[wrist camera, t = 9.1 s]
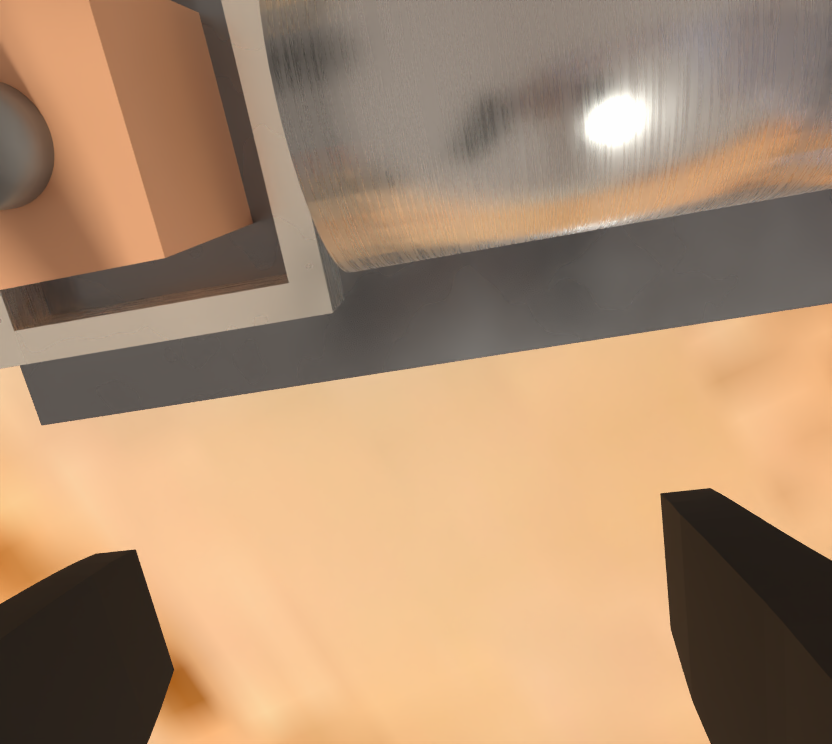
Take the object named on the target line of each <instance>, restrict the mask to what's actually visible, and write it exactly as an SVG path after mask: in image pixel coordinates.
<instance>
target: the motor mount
mask: <svg viewBox="0 0 832 744" xmlns="http://www.w3.org/2000/svg"><path fill="white" fill-rule="evenodd" d="M171 1H173V2H176V3H178V4H180V5H182V6H185V7H187V8H189V9H192V10H194V11H196V12H198V13H199V15H200V19H201V23H202V27H203V31H204V35H205V39H206V43H207V46H208V50H209V54H210V58H211V62H212V66H213V70H214V74H215V77H216V81H217V85H218V89H219V93H220V97H221V101H222V105H223V109H224V112H225V116H226V120H227V124H228V128H229V132H230V136H231V140H232V143H233V147H234V151H235V155H236V159H237V163H238V167H239V171H240V174H241V178H242V182H243V186H244V190H245V194H246V198H247V202H248V206H249V209H250V213H251V217H252V221H253V224H250V225H248V226H245V227H243V228H240V229H238V230H235V231H233V232H230V233H227V234H225V235H222V236H220V237H217V238H215V239H212V240H210V241H207V242H205V243H202V244H200V245H197V246H194V247H192V248H189V249H187V250H184V251H182V252H179V253H177V254H174V255H172V256H169V257H167V258H163V259H158V260H153V261H147V262H142V263H137V264H132V265H127V266H121V267H116V268H111V269H106V270H101V271H96V272H90V273H85V274H80V275H75V276H70V277H65V278H59V279H54V280H49V281H44V282H39V283H34V284H28V285H23V286H18V287H13V288H8V289H3V290H0V369H1V368H7V367H13V366H19V365H20V367H21V370H22V373H23V376H24V378H25V381H26V384H27V387H28V389H29V392H30V395H31V398H32V400H33V403H34V406H35V409H36V411H37V414H38V417H39V420H40V423H41V425H47V424H54V423H60V422H67V421H73V420H80V419H86V418H93V417H99V416H106V415H112V414H119V413H125V412H131V411H138V410H144V409H151V408H157V407H164V406H170V405H177V404H183V403H190V402H196V401H203V400H209V399H216V398H222V397H228V396H235V395H241V394H248V393H254V392H261V391H267V390H274V389H280V388H287V387H293V386H300V385H306V384H313V383H319V382H325V381H332V380H338V379H345V378H351V377H358V376H364V375H371V374H377V373H384V372H390V371H397V370H403V369H410V368H416V367H422V366H429V365H435V364H442V363H448V362H455V361H461V360H468V359H474V358H481V357H487V356H494V355H500V354H506V353H513V352H519V351H526V350H532V349H539V348H545V347H552V346H558V345H565V344H571V343H578V342H584V341H591V340H597V339H603V338H610V337H616V336H623V335H629V334H636V333H642V332H649V331H655V330H662V329H668V328H675V327H681V326H688V325H694V324H700V323H707V322H713V321H720V320H726V319H733V318H739V317H746V316H752V315H759V314H765V313H772V312H778V311H785V310H791V309H797V308H804V307H810V306H817V305H823V304H830V303H832V0H171Z"/></svg>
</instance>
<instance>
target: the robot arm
mask: <svg viewBox="0 0 832 744" xmlns="http://www.w3.org/2000/svg"><path fill="white" fill-rule="evenodd" d="M661 507H662V520H663V533H664V546H665V559H666V572H667V586H668V599H669V612H670V625H671V631H672V635H673V638H674V641H675V645H676V648H677V652H678V655H679V658H680V662H681V665H682V669H683V672H684V675H685V678H686V682H687V685H688V688H689V691H690V694H691V698H692V701H693V703H694V706H695V708H696V710H697V713H698V715H699V718H700V720H701V722H702V724H703V727H704V729H705V731H706V734H707V736H708V738H709V741H710V743H711V744H832V561H831V560H830V559H828V558H826V557H824V556H823V555H821V554H819V553H817V552H816V551H814V550H812V549H811V548H809V547H807V546H806V545H804V544H802V543H800V542H799V541H797V540H795V539H794V538H792V537H790V536H789V535H787V534H785V533H784V532H782V531H780V530H779V529H777V528H776V527H774V526H772V525H771V524H769V523H767V522H766V521H764V520H763V519H761V518H759V517H758V516H756V515H754V514H753V513H751V512H750V511H748V510H746V509H745V508H743V507H742V506H740V505H738V504H737V503H735V502H733V501H732V500H730V499H728V498H727V497H725V496H723V495H722V494H720V493H718V492H716V491H714V490H713V489H711V488H707V489H698V490H689V491H679V492H670V493H661ZM173 671H174V668H173V665H172V662H171V659H170V655H169V652H168V649H167V646H166V643H165V640H164V637H163V634H162V630H161V627H160V624H159V621H158V618H157V615H156V612H155V609H154V605H153V602H152V599H151V596H150V593H149V590H148V587H147V584H146V580H145V577H144V574H143V571H142V568H141V565H140V562H139V559H138V555H137V552H136V550H127V551H117V552H108V553H99V554H94V555H92V556H90V557H87V558H85V559H82V560H80V561H78V562H76V563H74V564H72V565H70V566H68V567H66V568H64V569H62V570H60V571H58V572H56V573H54V574H52V575H51V576H49V577H47V578H45V579H43V580H41V581H40V582H38V583H36V584H34V585H33V586H31V587H29V588H27V589H26V590H24V591H22V592H20V593H19V594H17V595H15V596H13V597H12V598H10V599H8V600H6V601H5V602H3V603H1V604H0V744H147V742H148V740H149V738H150V736H151V733H152V730H153V728H154V725H155V723H156V720H157V717H158V715H159V712H160V710H161V707H162V704H163V701H164V698H165V695H166V692H167V689H168V686H169V683H170V680H171V677H172V674H173Z"/></svg>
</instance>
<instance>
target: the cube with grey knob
mask: <svg viewBox="0 0 832 744" xmlns="http://www.w3.org/2000/svg"><path fill="white" fill-rule="evenodd" d="M250 224H253V221H252V217H251V213H250V209H249V206H248V202H247V198H246V194H245V190H244V186H243V182H242V178H241V174H240V171H239V167H238V163H237V159H236V155H235V151H234V147H233V143H232V140H231V136H230V132H229V128H228V124H227V120H226V116H225V112H224V109H223V105H222V101H221V97H220V93H219V89H218V85H217V81H216V77H215V74H214V70H213V66H212V62H211V58H210V54H209V50H208V46H207V43H206V39H205V35H204V31H203V27H202V23H201V19H200V15H199V13H198V12H196V11H194V10H192V9H189V8H187V7H185V6H182V5H180V4H178V3H176V2H173V1H171V0H0V290H3V289H8V288H13V287H18V286H23V285H28V284H34V283H39V282H44V281H49V280H54V279H59V278H65V277H70V276H75V275H80V274H85V273H90V272H96V271H101V270H106V269H111V268H116V267H121V266H127V265H132V264H137V263H142V262H147V261H153V260H158V259H163V258H167V257H169V256H172V255H174V254H177V253H179V252H182V251H184V250H187V249H189V248H192V247H194V246H197V245H200V244H202V243H205V242H207V241H210V240H212V239H215V238H217V237H220V236H222V235H225V234H227V233H230V232H233V231H235V230H238V229H240V228H243V227H245V226H248V225H250Z"/></svg>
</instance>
